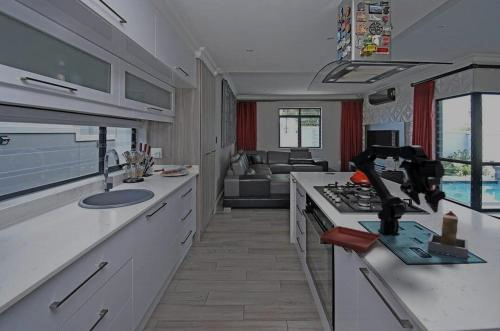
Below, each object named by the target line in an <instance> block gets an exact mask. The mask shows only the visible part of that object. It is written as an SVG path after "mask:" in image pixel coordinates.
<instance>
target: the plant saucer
mask: <svg viewBox="0 0 500 331" xmlns="http://www.w3.org/2000/svg"><path fill="white" fill-rule="evenodd" d="M319 237H320V238H321V239H322V240H323V241H324V242H325V243H326V244H328V245H332V246H336V247H341V248H342V249H348V250H352V251H355V252H359V253H365V251H366V250H368V249H369V248H370V247H371V246H372V245H374V244H375V243H376V242H377V241H378V240H379V239H380V238H381V237H382V235H381V234H377V233H372V232H369V231H365V230H359V229H356V228H355V229H354V228H349V227H346V226H340V225H337V226H335V227H333V228H331V229H330V230H329V229H328V231H325V232H324V233H321V234H320V235H319Z"/></svg>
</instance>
